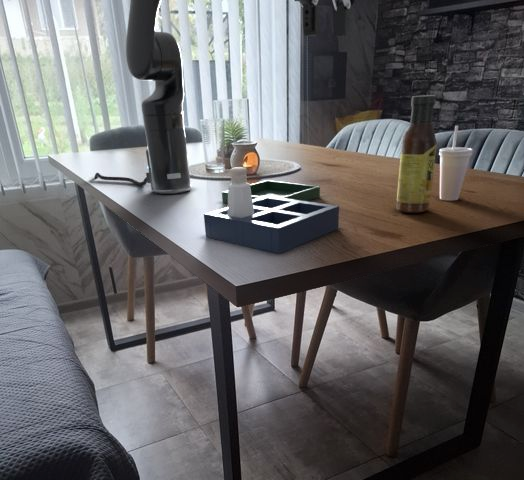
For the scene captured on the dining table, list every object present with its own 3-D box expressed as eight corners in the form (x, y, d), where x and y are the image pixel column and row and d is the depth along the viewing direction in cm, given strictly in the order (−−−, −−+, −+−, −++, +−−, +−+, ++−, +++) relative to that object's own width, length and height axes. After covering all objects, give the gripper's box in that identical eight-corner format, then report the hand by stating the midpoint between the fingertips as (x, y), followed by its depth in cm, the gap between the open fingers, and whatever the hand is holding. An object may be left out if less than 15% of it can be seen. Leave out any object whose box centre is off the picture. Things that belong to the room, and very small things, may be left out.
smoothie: (428, 196, 104) (437, 125, 97) (457, 194, 104) (468, 123, 98) (440, 202, 98) (450, 127, 92) (470, 201, 99) (483, 126, 92)
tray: (222, 202, 107) (221, 191, 106) (267, 189, 117) (267, 180, 116) (276, 211, 98) (275, 199, 97) (319, 196, 108) (320, 186, 107)
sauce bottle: (430, 214, 91) (445, 95, 81) (396, 214, 92) (407, 97, 82) (427, 206, 96) (441, 94, 87) (394, 206, 98) (405, 95, 88)
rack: (205, 237, 84) (203, 213, 82) (267, 216, 95) (266, 195, 93) (279, 254, 74) (278, 228, 72) (338, 229, 85) (339, 205, 83)
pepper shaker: (263, 232, 85) (260, 166, 80) (248, 240, 81) (244, 171, 76) (236, 229, 87) (232, 164, 82) (220, 237, 83) (215, 170, 78)
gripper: (333, -80, 79) (330, 39, 87) (278, -97, 69) (281, 37, 77) (375, -91, 74) (367, 35, 82) (321, -111, 65) (319, 33, 73)
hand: (325, 36), depth 80 cm, fingers open, 8 cm apart
